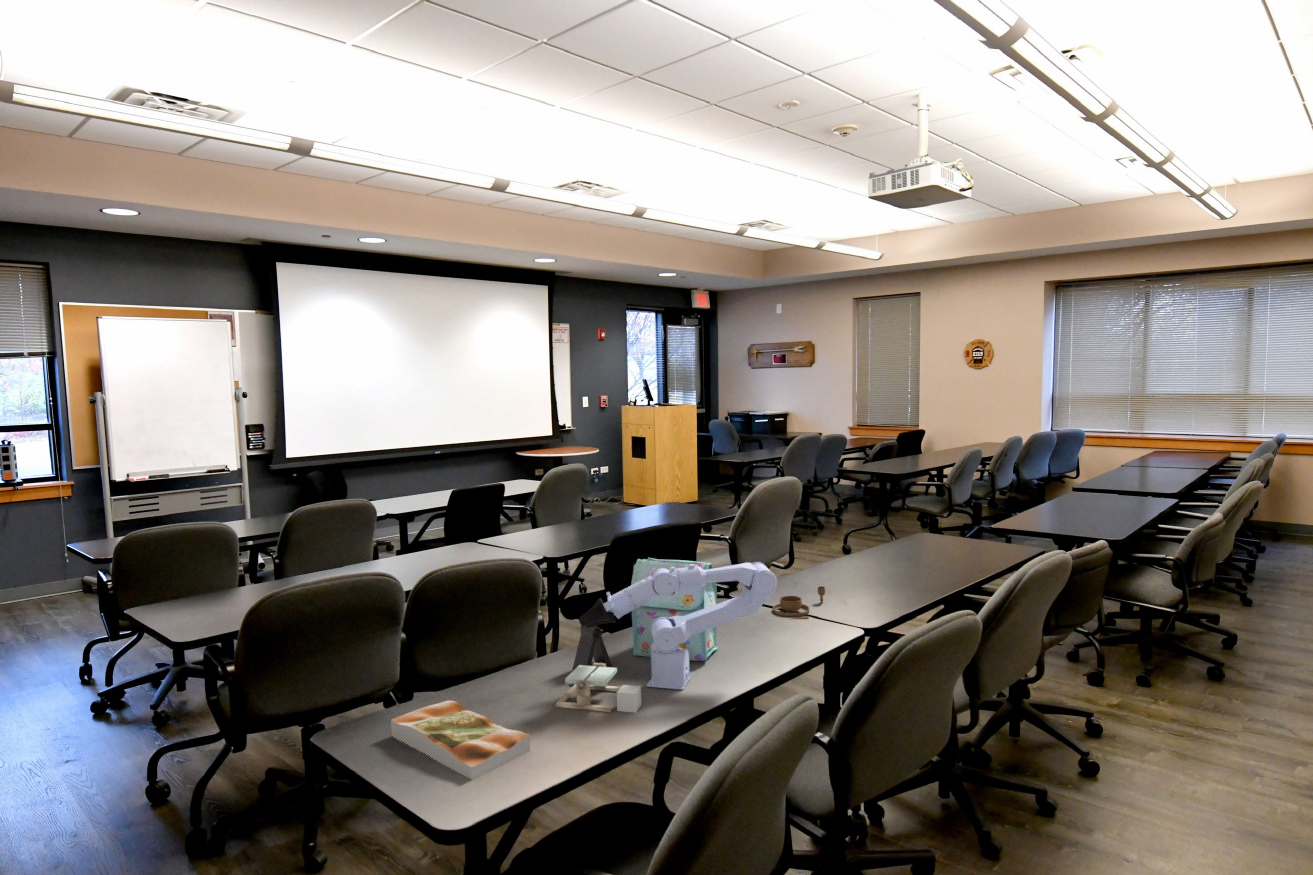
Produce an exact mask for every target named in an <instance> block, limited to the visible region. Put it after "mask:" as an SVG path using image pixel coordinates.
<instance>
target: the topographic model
mask: <svg viewBox="0 0 1313 875" xmlns="http://www.w3.org/2000/svg"><path fill="white" fill-rule="evenodd" d="M390 728H391V737H392V736H394V737H395V738H397V739H399V740H401V741H403V742H404V743H406V744H408V745H410V746H412V747H414V748H416V749H418V750H420V751H421V752H423V753H425V754H426V755H428V756H430V757H431V758H430V757H429V758H430V759H432V758H433V759H432V760H434V761H436V762H438V763H439V764H442V765H443V766H445V767H448V768H449V769H451V770H453V771H454V772H456V773H458V774H461V775H462V776H464V777H465V778H468V779H470V780H471V781H473V780H476V779H477V778H479V777H482V776H483V775H485V774H487V773H489V772H491V771H493V770H495V769H497V768H499V767H501V766H503V765H505V764H508V763H509V762H511V761H512V760H514V759H517V758H519V757H520V756H523V755H524V754H527V753H528V752H529V753H530V752H531V741H530V734H528V733H525V731H524V732H523V731H520V730H514V729H510V728H505V727H504V726H502V725H498V724H495V723H494V722H493V721H492V720H490V718H488V717H487V716H484V715H482V714H479V713H477V712H474V711H471V710H468V709H467V708H465V707H464V706H463V705H462V704H460V703H459V702H458V701H455V700H445V701H441V702H438V703H434V704H429V705H427V706H424V707H421V708H418V709H415V710H413V711H410V712H407V713H405V714H402V715H400V716H399V715H398V716H397V717H394V718H392V719H390ZM404 743H403V744H404ZM406 744H405V745H406ZM421 752H420V753H421ZM426 755H425V756H426ZM428 756H427V757H428Z"/></svg>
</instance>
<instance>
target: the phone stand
mask: <svg viewBox="0 0 1313 875" xmlns="http://www.w3.org/2000/svg"><path fill="white" fill-rule="evenodd" d="M579 629H580V636H579V640H578V644H577V648H576V653H575V656H574V657H575V658H574V661H573V664H572V665H573V666H572V671H574V670H575V669H576V668H577V667H578V666H579V665H585V666H593V664H594V663H600V662H602V663H606V667H611V668H613V663H612V660H611V658H610V657H609V656H610V655H609V653H608V650H607V648H606V645H605V642H604V640H603V637H602V634H603V632H602V629H601V627H598V626H593V627H590V628H587V627H586V626H581V625H580V628H579ZM593 660H594V661H593Z"/></svg>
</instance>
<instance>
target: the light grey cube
mask: <svg viewBox="0 0 1313 875" xmlns="http://www.w3.org/2000/svg"><path fill="white" fill-rule="evenodd" d="M620 687H621V688H620V689H619V690H618V691H617V692H616V712H624V713H626V712H627V713H637V711H638V710H639V709H640V708H641V706H642V687H641V686H639V685H628V684H623V685H621V686H620Z"/></svg>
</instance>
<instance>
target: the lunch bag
mask: <svg viewBox="0 0 1313 875" xmlns="http://www.w3.org/2000/svg"><path fill="white" fill-rule="evenodd" d="M689 564H694V565H695V566H699V567H701V568H702V569H703V570H707V569H713V567H714V566H713V564H712V563H711V562H704V561H694V560H681V559H657V558H652V557H648V558H646V559H645V558H643V559H640V558H638V559H637V560H636V562H635V564H633V570H632V576H631V577H632V578H631V583H630V584H631V585H633V584H635V583H637V582H639V581H641V580H643V579H645V578H647V577H649V576H651V574H652V572H653V571H654V570H655V569H660V568H665V569H667V570H669V571H670V568H671V567H674V568H675V569H676V568H684V567H689ZM631 585H630V586H631ZM717 591H718V590H717V582H712V583H706V584H705V585H704V586H703V587H702V588H701V589H693V590H685V591H675V592H674V593H673V594H671V595H670V596H663V595H661V596H659V597H657V598H655V599H653V600H652V601H650V602H648V603H646V604H644V605H642V606H640V607H639V608H636V609H635V610H633V611H631V622H632V634H633V636H632V637H633V642H632V648H633V649H632V655H633V656H639V657H645V658H651V645H652V644H653V642H654V640H653V636H652V635H651V632H650V627H651V624H652V623H653V621H654V620H656V619H657V618H660V617H666V618H670V617H673V616H685V615H688V614H691V613H693V612H696V611H699V610H702V609H705V608H707V607H710V606H713V605H716V604H718V602H717V599H718V593H717ZM679 647H680V648H682V649H686V650H688V653H689V661H695V662H697V661H698V662H702V661H708V658H709V657H710V656H711V654H712V653H713V652H714V651H717V650H718V648H719V646H718V643H717V627H714V628H711V629H708V630H705V631H703V632H700V633H697V634H694V635H692V636H690V637H689V638H688V639H687V641H686V642H685V643H682V644H680V645H679Z"/></svg>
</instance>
